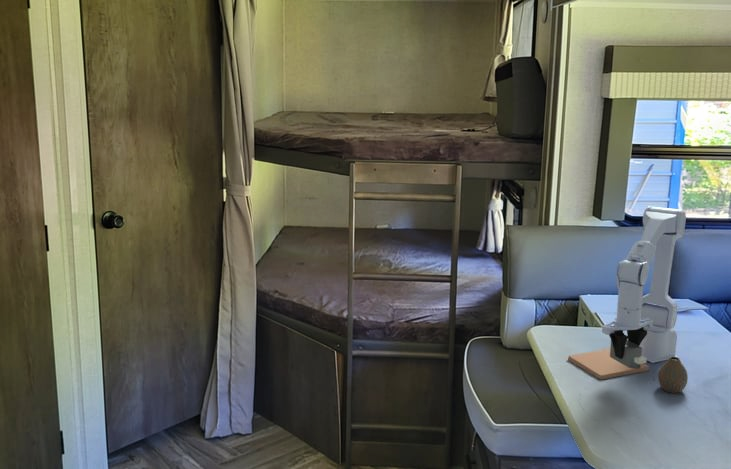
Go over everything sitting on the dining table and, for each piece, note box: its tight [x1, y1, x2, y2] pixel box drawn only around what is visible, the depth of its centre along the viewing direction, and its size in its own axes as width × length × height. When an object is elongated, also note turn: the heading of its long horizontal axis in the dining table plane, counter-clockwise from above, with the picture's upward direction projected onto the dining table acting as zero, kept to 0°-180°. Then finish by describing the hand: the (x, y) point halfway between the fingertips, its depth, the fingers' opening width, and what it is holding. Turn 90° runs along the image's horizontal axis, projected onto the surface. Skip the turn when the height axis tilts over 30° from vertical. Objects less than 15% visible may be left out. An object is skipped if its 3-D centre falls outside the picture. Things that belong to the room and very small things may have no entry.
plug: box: [609, 339, 648, 369], centre depth 170 cm, size 4×11×5 cm, turn 20°
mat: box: [568, 347, 649, 380], centre depth 185 cm, size 16×14×1 cm
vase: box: [657, 356, 688, 394], centre depth 169 cm, size 7×7×9 cm
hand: (625, 356), depth 171 cm, fingers closed on plug, 4 cm apart
